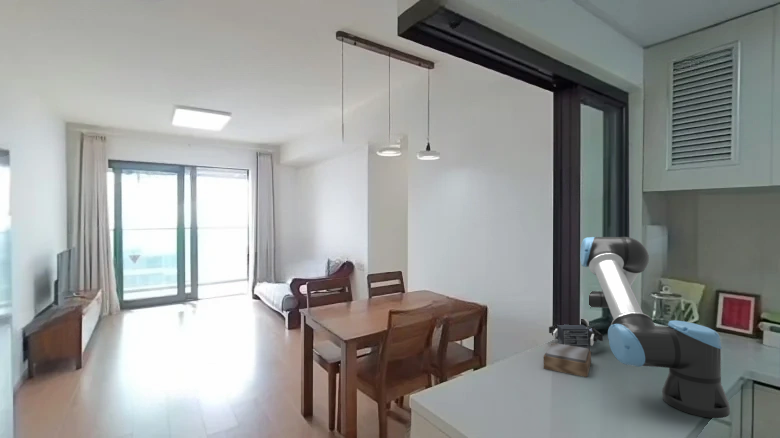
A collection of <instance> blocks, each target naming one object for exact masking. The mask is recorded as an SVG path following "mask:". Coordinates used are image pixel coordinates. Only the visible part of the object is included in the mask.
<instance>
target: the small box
mask: <svg viewBox="0 0 780 438" xmlns="http://www.w3.org/2000/svg"><path fill="white" fill-rule="evenodd" d="M556 325H557V332H558V336H557V343H558V344H564V345H570V346H576V347H582V348H588V349H589V351H591V347H590V346H591V341H590V338H589V329H590V328H589V327H588V328H587V327H586V326H584V325H569V324H564V325H558V324H556Z"/></svg>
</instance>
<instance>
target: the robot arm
mask: <svg viewBox="0 0 780 438" xmlns="http://www.w3.org/2000/svg"><path fill="white" fill-rule="evenodd" d="M579 257H580V259H579V260H580V264H581V267H584V268H588V269H589V271H590V273H591V274H593V275H595V276H596V277H597V281H598V282H599V285H600V287H601V291H598V290H591V291H592V292H591V293H590V295H589V305H590V306H591V307H590V308H597V309H598V308H599V309H600V308H601V309H602V308H603V309H608V310H609V312H610V314H611V316H612V322H611V323H610V326H609V327H608V330H607V339H608V341H609V343H608V344H609V348H610V350H611V352H612V354H613V356H614V358H615V359H616V360H617V361H618V362H620V363H621V364H622V365H626V366H627V365H628V366H634V367H636V368H637V367H652V368H665V369H668V375H667V377H666V378H665V381H664V383H663V385H662V389H661V395H662V396H661V398H662V400H663V401H664V402H665V403H666V404H668V405H669V406H671V407H673V408H674V409H676V410H678V411H681V412H683V413H687V414H690V415H694V416H698V417H702V418H707V419H709V418H711V419H724V418H726V417H728V416H730V414H731V410H730V409H731V405H730V402H729V400H728V396H727V394H726V393H725V390H724V387H723V385H722V372H721V371H722V355H721V354H722V348H723V347H722V343H721V337H720V334H719V333H718V332H717V331H716V330H714V329H712V328H710V327H707V326H704V325H701V324H697V323H693V322H689V321H684V320H677V319H676V320H669V321H668V323H667V326H663V325H662V326H660V325H659V326H658V325H656V324H655V323H654V321H653V319H652V317H651V316H649V315H648V314H645V313H644V312H643V310H642V308H641V306H640V304H639V302H638V299H637V298H636V295H635V293H634V291H633V289H632V288H631V287H632V285H633V283H634V282H635V280H636V279H637V277H638V275H639V274H641V273H643V272H644V271H645V270H646V269H647V267H648V265H649V260H650V257H649V252H648V250H647V248H646V247H645V245H644V244H642V243H641V242H640V241H638V240H637V239H635V238H633V237H630V236H629V237H628V236H591V237H590V236H589V237H588V236H587V237H585V238H583V240H582V241H581V246H580V255H579ZM581 325H584V326H586V327H587V328H589V327H590V325H589V321H588V320H587V319H585V318H584V319H581ZM554 326H555V325H552V326H548V333H549V334H551V335H552V340H556V339H557V338H558V332H557V328H556V326H555V327H554ZM588 326H589V327H588ZM603 335H604V334H602V333H601V332H600V331H598V330H596V327H591V328H589V340H590V346H594V343H595V342H596V343H597V342H598V341H600V342H602V341H604V336H603Z"/></svg>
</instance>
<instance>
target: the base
mask: <svg viewBox="0 0 780 438" xmlns="http://www.w3.org/2000/svg"><path fill="white" fill-rule="evenodd" d="M591 364H592V350H590V351H589V349H588V348H582V347H576V346H570V345H564V344H558V342H551V343H550V345H549V346H548V348H547V350H546V351H545V352H544V355H543V370H544V369H545V370H549V371H553V372H560V373H565V374H568V375H575V376H578V377H579V376H580V377H584V378H588V376H589V372H590V368H591Z"/></svg>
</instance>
